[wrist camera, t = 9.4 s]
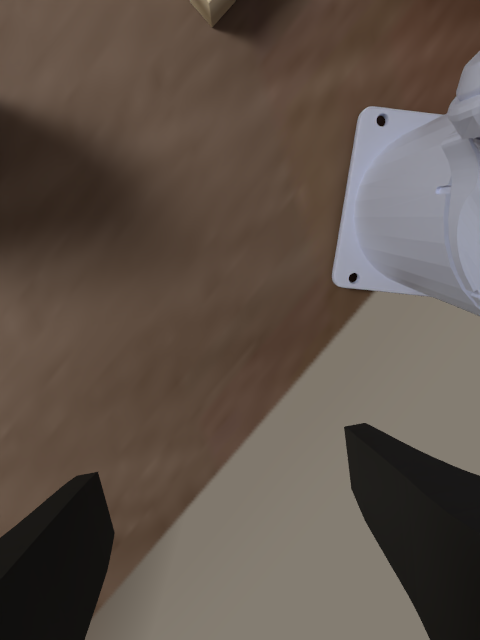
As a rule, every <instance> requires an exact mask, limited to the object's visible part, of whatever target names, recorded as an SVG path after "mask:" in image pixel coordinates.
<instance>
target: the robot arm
mask: <svg viewBox="0 0 480 640" xmlns="http://www.w3.org/2000/svg"><path fill="white" fill-rule="evenodd" d="M456 95H457V96H456V97H455V98H454V100H453V101H452V102H451V104H450V106H449V109H448V113H447V114H445V115H440V114H432V113H424V112H415V111H407V110H399V109H391V108H382V107H374V106H372V107H367V108H366V109H364V110H363V111H362V112H361V113H360V114H359V117H358V120H357V126H356V132H355V139H354V145H353V151H352V157H351V163H350V169H349V175H348V181H347V187H346V193H345V199H344V205H343V211H342V217H341V223H340V229H339V236H338V242H337V248H336V254H335V260H334V266H333V272H332V280H333V282H334V283H335V284H336V285H337V286H339V287H343V288H353V289H362V290H372V291H382V292H391V293H401V294H411V295H420V296H430V297H434V298H436V299H439V300H441V301H444V302H446V303H449V304H451V305H454V306H456V307H459V308H461V309H464V310H466V311H469V312H471V313H474V314H476V315H478V316H480V51H479V52H478V53H477V54H476V55H475V56H474V57H473V58H472V59H471V60H470V61H469V62H468V63H467V64H466V66H465V67H464V69H463V71H462V75H461V78H460V81H459V85H458V88H457V92H456ZM378 116H383V117H384V119H385V125H384V126H383V127H381V126H379V125H378V124H377V117H378ZM352 273H356V274H357V279H356V281H355V282H352V283H351V282H349V276H350V275H351V274H352ZM344 429H345V438H346V446H347V454H348V463H349V471H350V480H351V489H352V491H353V493H354V496H355V498H356V501H357V503H358V505H359V508H360V510H361V512H362V514H363V517H364V519H365V521H366V523H367V525H368V527H369V528H370V530H371V532H372V534H373V535H374V537H375V539H376V541H377V542H378V544H379V546H380V547H381V549H382V551H383V553H384V554H385V556H386V558H387V560H388V561H389V563H390V565H391V566H392V568H393V570H394V572H395V573H396V575H397V577H398V578H399V580H400V582H401V584H402V585H403V587H404V589H405V590H406V592H407V594H408V595H409V598H410V599H411V601H412V603H413V605H414V607H415V609H416V611H417V613H418V615H419V617H420V619H421V621H422V623H423V625H424V627H425V630H426V632H427V634H428V636H429V638H430V640H480V476H479V475H476V474H473V473H470V472H467V471H465V470H462V469H460V468H457V467H455V466H452V465H450V464H447V463H445V462H443V461H441V460H438V459H436V458H434V457H431V456H429V455H427V454H425V453H423V452H421V451H419V450H417V449H415V448H413V447H411V446H409V445H407V444H405V443H403V442H401V441H399V440H397V439H395V438H393V437H392V436H390V435H388V434H386V433H384V432H382V431H380V430H378V429H376V428H374V427H372V426H370V425H368V424H366V423H362V424H357V425H352V426H346V427H344ZM113 539H114V529H113V525H112V522H111V518H110V515H109V511H108V507H107V504H106V500H105V496H104V493H103V489H102V485H101V482H100V478H99V474H98V472H95V473H90V474H84V475H79V476H76V477H74V478H73V479H72V480H70V481H69V482H67V483H66V484H65V485H64V486H62V487H61V488H60V489H59V490H58V491H56V492H55V493H54V494H53V495H52V496H50V497H49V498H48V499H47V500H46V501H45V502H43V503H42V504H41V505H40V506H39V507H37V508H36V509H35V510H34V511H33V512H32V513H30V514H29V515H28V516H27V517H26V518H24V519H23V520H22V521H21V522H20V523H18V524H17V525H16V526H15V527H13V528H12V529H11V530H10V531H8V532H7V533H6V534H5V535H3V536H2V537H1V538H0V640H85V636H86V634H87V631H88V628H89V625H90V622H91V619H92V616H93V613H94V610H95V607H96V604H97V601H98V598H99V595H100V591H101V588H102V585H103V582H104V579H105V576H106V573H107V569H108V565H109V560H110V555H111V550H112V544H113Z"/></svg>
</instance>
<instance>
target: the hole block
mask: <svg viewBox="0 0 480 640" xmlns="http://www.w3.org/2000/svg"><path fill="white" fill-rule="evenodd" d="M189 1H190V2H191V3H192V5H193V6H194V7H195V8H196V9H197V10H198V12H199V13H200V14H201V15H202V16H203V17H204V19H205V20H206V21H207V22H208V23H209V25H210V26H211V27H213V26H214V25H215V24H216V23H217V22H218V21H219V19H220V18H221V17H222V16H223V15H224V14H225V13H226V12H227V10H228V9H229V8H230V7H231V6H232V5H233V4H234V2H235V1H236V0H189Z"/></svg>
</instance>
